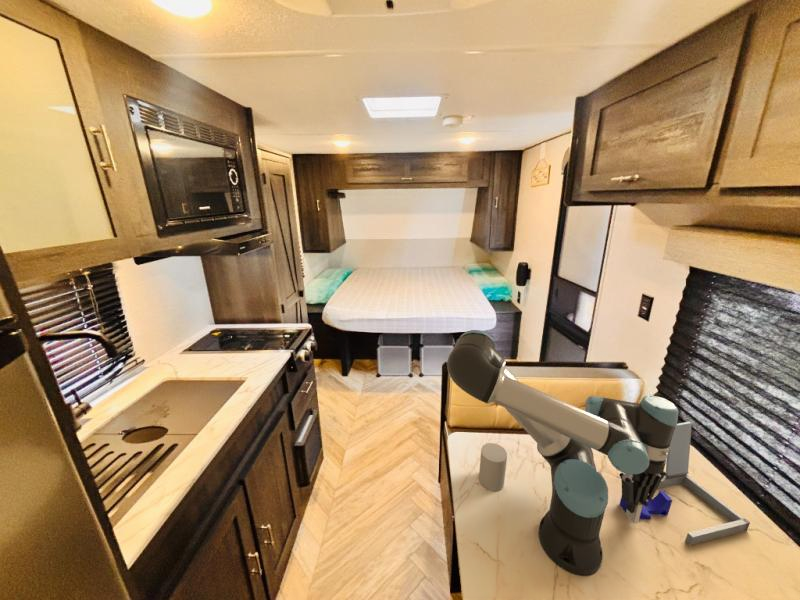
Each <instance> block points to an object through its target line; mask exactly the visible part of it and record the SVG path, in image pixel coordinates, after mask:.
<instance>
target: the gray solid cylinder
mask: <svg viewBox="0 0 800 600" xmlns="http://www.w3.org/2000/svg"><path fill="white" fill-rule="evenodd" d="M480 450H481V451H480V461H479V462H480V463H479V472H478V481H479V484H480V486H482V488H483V489H485V490H486V491H489V492H492V493H495V492H496V493H497V492H500V491H502V490H503V489H504V486H505V479H506V470H507V461H508V460H507V459H508V452H507V450H506V449H505V448H504V447H503V446H501V445H500V444H498V443H495V442H487V443H485V444H483V445H482V447H481V449H480Z"/></svg>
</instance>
